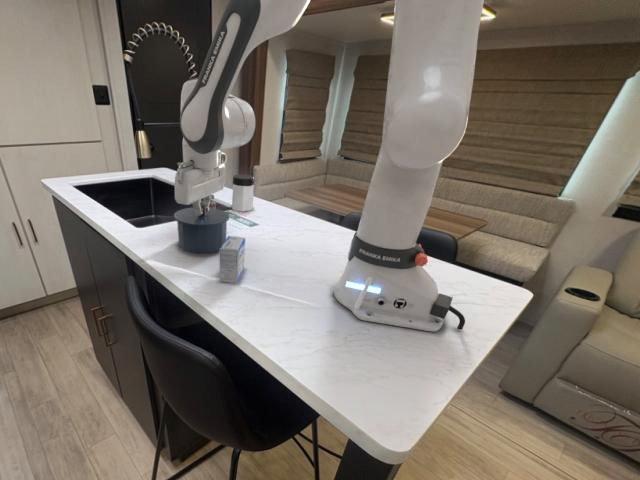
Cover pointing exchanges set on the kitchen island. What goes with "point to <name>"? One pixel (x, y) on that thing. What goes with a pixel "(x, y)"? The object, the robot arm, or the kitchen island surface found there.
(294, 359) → the kitchen island surface
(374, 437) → the kitchen island surface
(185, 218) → the pot lid
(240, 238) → the medicine box
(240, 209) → the jar
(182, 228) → the pot
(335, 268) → the kitchen island surface
